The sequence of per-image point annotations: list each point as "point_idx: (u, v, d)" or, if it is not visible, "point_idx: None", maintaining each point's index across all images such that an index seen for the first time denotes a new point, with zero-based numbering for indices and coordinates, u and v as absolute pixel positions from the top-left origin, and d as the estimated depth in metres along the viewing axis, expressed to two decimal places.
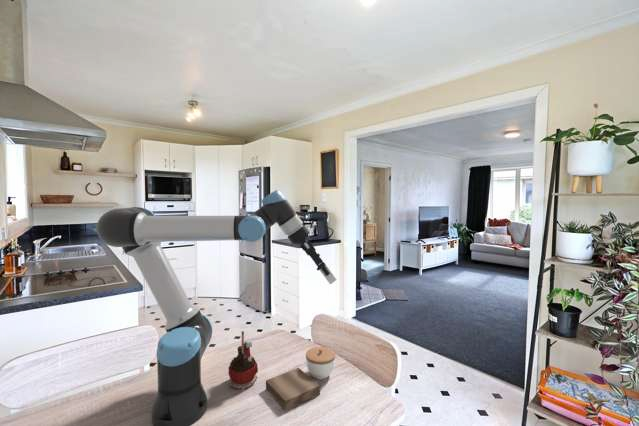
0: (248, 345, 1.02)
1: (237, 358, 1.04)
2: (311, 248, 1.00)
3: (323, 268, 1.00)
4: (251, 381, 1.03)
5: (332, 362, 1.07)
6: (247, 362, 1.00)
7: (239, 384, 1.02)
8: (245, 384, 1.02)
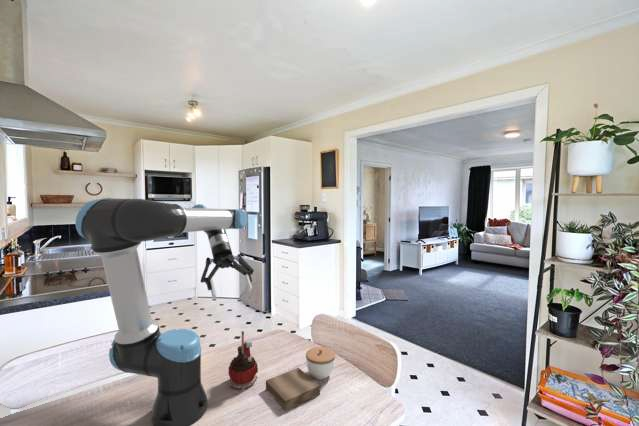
0: (248, 345, 1.02)
1: (237, 358, 1.04)
2: None
3: None
4: (251, 381, 1.03)
5: (332, 362, 1.07)
6: (247, 362, 1.00)
7: (239, 384, 1.02)
8: (245, 384, 1.02)
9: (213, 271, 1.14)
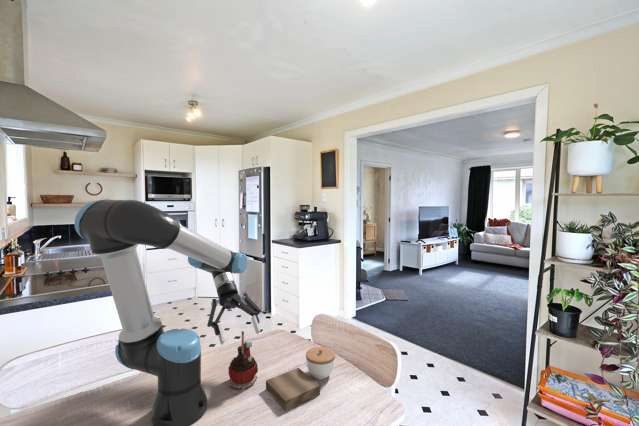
0: (248, 345, 1.02)
1: (237, 358, 1.04)
2: None
3: None
4: (251, 381, 1.03)
5: (332, 362, 1.07)
6: (247, 362, 1.00)
7: (239, 384, 1.02)
8: (245, 384, 1.02)
9: (220, 314, 1.10)
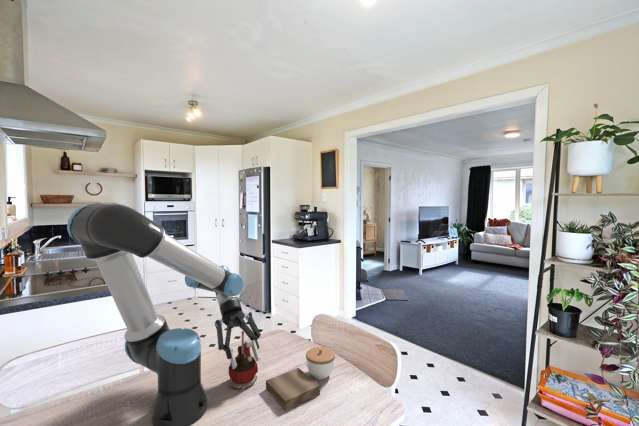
0: (248, 345, 1.02)
1: (237, 358, 1.04)
2: None
3: None
4: (251, 381, 1.03)
5: (332, 362, 1.07)
6: (247, 362, 1.00)
7: (239, 384, 1.02)
8: (245, 384, 1.02)
9: (229, 335, 1.05)
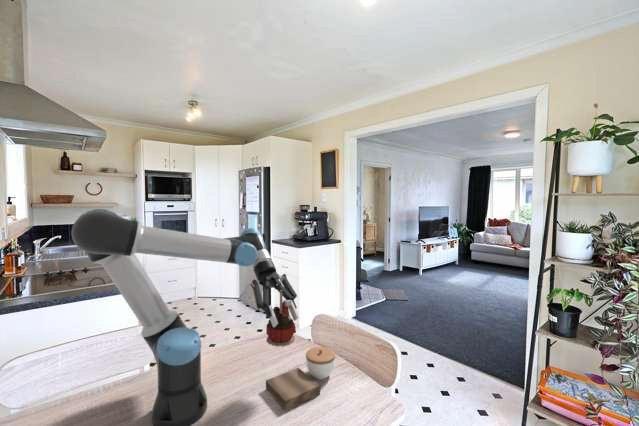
0: (288, 303, 1.00)
1: None
2: None
3: None
4: (290, 340, 1.02)
5: (332, 362, 1.07)
6: (288, 320, 0.99)
7: (278, 343, 1.00)
8: (285, 343, 1.00)
9: (267, 294, 1.02)
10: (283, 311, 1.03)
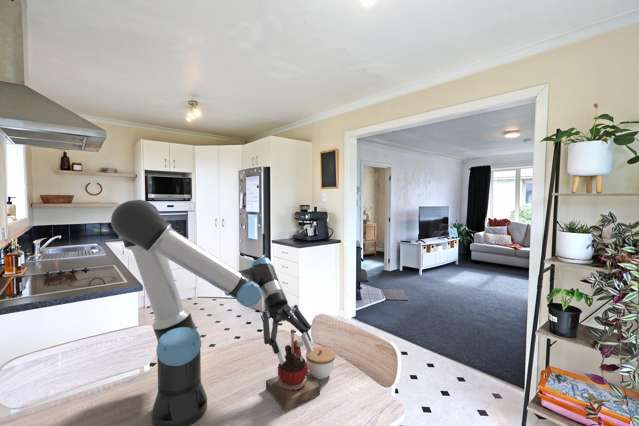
0: (299, 344, 0.97)
1: (287, 358, 0.99)
2: None
3: None
4: (302, 382, 0.98)
5: (332, 362, 1.07)
6: (299, 362, 0.95)
7: (290, 385, 0.96)
8: (297, 385, 0.96)
9: (275, 329, 0.99)
10: (295, 351, 0.99)
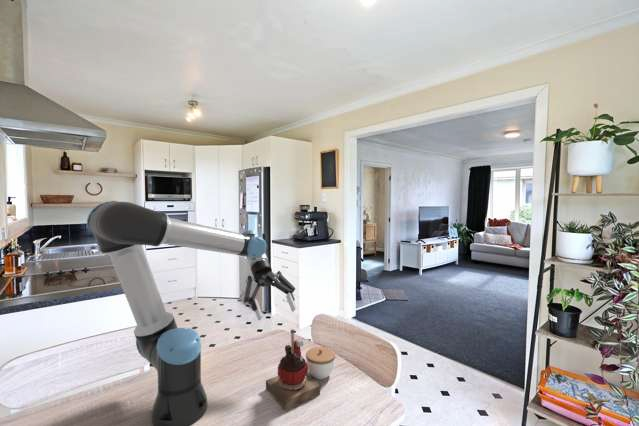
0: (299, 344, 0.97)
1: (287, 358, 0.99)
2: None
3: None
4: (302, 382, 0.98)
5: (332, 362, 1.07)
6: (299, 362, 0.95)
7: (290, 385, 0.96)
8: (297, 385, 0.96)
9: (256, 290, 1.08)
10: (295, 351, 0.99)
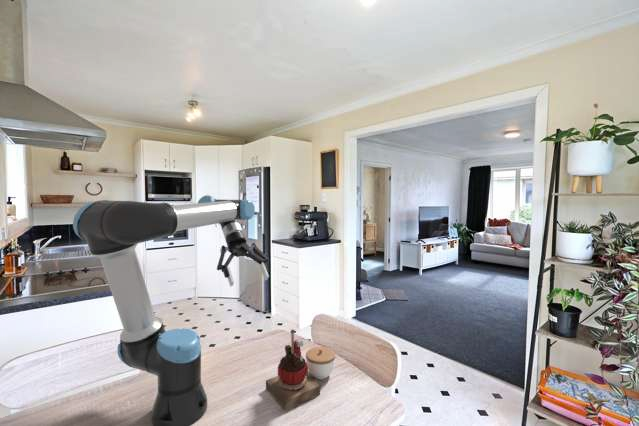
0: (299, 344, 0.97)
1: (287, 358, 0.99)
2: None
3: None
4: (302, 382, 0.98)
5: (332, 362, 1.07)
6: (299, 362, 0.95)
7: (290, 385, 0.96)
8: (297, 385, 0.96)
9: (229, 259, 1.12)
10: (295, 351, 0.99)
